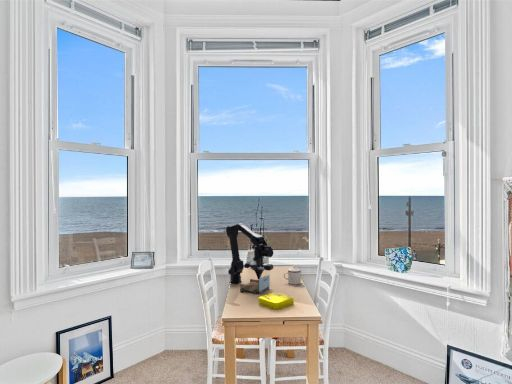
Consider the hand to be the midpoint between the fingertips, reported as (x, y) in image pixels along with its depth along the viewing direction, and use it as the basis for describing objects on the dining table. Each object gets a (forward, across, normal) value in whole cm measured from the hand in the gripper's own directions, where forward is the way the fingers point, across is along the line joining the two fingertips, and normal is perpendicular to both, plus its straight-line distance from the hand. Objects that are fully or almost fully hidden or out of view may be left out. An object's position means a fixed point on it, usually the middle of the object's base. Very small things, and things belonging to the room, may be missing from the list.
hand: (258, 279), depth 209 cm
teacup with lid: (+6, +15, +22) cm, 27 cm away
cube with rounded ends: (+3, 0, -7) cm, 8 cm away
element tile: (+7, +22, -22) cm, 31 cm away
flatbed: (+6, -2, -4) cm, 7 cm away
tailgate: (+4, +6, -4) cm, 8 cm away
